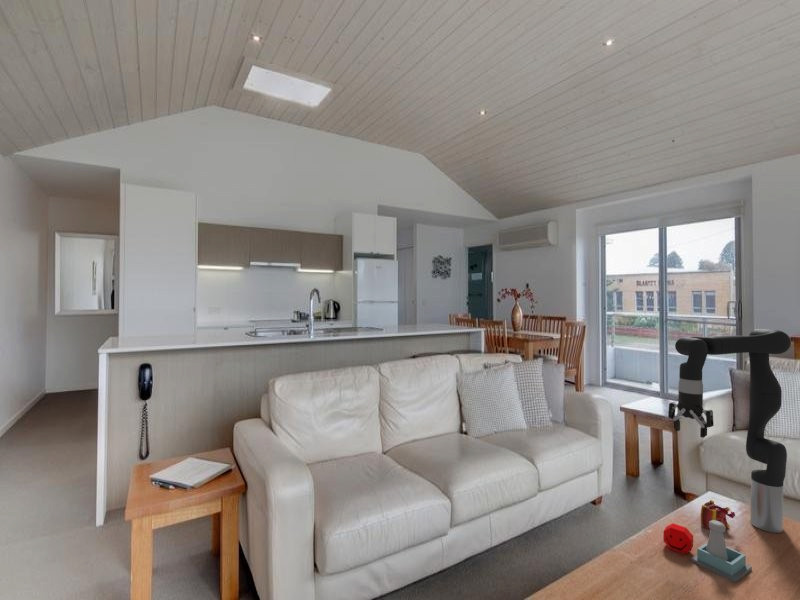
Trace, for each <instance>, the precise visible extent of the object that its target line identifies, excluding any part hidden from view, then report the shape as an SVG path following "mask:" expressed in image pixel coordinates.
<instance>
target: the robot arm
mask: <svg viewBox="0 0 800 600" xmlns="http://www.w3.org/2000/svg"><path fill="white" fill-rule="evenodd" d="M791 344H792V342H791V338H790V336H789V335H788V334H787V333H786V332H784V331H782V330H777V329H771V328H770V329H768V328H755V329H753V330H752V331H750V333H749V335H732V334H731V335H712V336H683V337H681V338H678V339H677V340H676V342H675V344H674V347H675V348H674V349H675V351H676V352H677V353H678V354H680V355H681V356H687V357H688V358H687V360H686V361H685V362H682V363H680V365H679V378H678V379H679V380H678V387H677V389H678V394H677V395H678V396H677V397H678V399H677V400H678V403H676V402H673V401H672V402H669V403H668V413H667V417H668V419H672V420H673V429H674V430H675V431H676V432H680V431H681V420H680V419H682V418H690V419H691V420H695V421H696V422H697V423H698V425H699V426H700V428H699V429H700V433H699V434H700V435H699V436H700V438H702V439H703V438H706V437H707V436H708V428H711V427H714V411H713V410H712V409H709V410H708V409H704V408H703V405H704V404H703V403H704V400H703V399H704V384H703V367H704V365H705V363H706V361H707V357H708V356H709V355H710V356H716V355H717V356H718V355H731V354H732V355H733V354H743V353H745V354H746V353H748V357H749V359H748V360H749V376H750V377H749V381H750V382H749V416H748V417H749V418H748V426H747V433H746V443H745V451H746V454H747V457H749V458H750V459H751V460H753V461H756V462H759V463H762V464H765V465H766V468H765V469H759V468H758V469H753V470H752V471H751V472H750V473H751V476H750V517H749V518H750V520H749V521H750V523H751V525H752V526H754V527H756V528H757V529H760V530H762V531H765V532H768V533H769V532H770V533H773V534H776V533H777V534H778V533H779V534H780V533H782V532H783V526H784V521H783V520H784V481H785V478H786V472H787V471H786V469H787V459H788V452H787V448H786V446H785V445H784V444H783V443H781V442H778V441H775V440H771V439H768V438H765V430H766V427H767V424H768V423H769V422H770V421H771V419H773V417H774V416H775V415H777V413H778V412H779V411H780V410H781V407H782V399H783V398H782V396H783V395H782V394H783V392H782V387H781V385H780V382H779V380H778V378H777V377H776V375H775V373H774V372H773V370H772V368H771V365H770V355H780V354H784V353H786V352H787V351H789V349H790V348H791V346H792V345H791ZM676 409H678V411H679V412H678V413H676ZM703 414H704V416H705V417H704V416H703Z"/></svg>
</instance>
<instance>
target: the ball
mask: <svg viewBox="0 0 800 600" xmlns="http://www.w3.org/2000/svg"><path fill="white" fill-rule="evenodd" d="M662 538H663V543H665V545H666V546H667V548H669V550H670V551H673V552H676V553H679V554H681V555H684V554H687V553H690V552H691V551H692V550H693V547H694V535H693V534H692V533H691V531H689V529H688V528H687V527H686V526H684V525H683V526H682V525H680V524H676V523H670V524H669V525H667V526H665V528H664V530H663V537H662Z"/></svg>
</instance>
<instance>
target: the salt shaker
mask: <svg viewBox="0 0 800 600" xmlns="http://www.w3.org/2000/svg"><path fill="white" fill-rule="evenodd" d="M709 528H710V529H711V530H709V535H708V538H707V539H708V540H707V542H708V543H707V542H706V543H707V547H706V551H707V552H709V553H711V554H713V555H715V556H717V557H719V558H722V559H724V560H726V561H727V560H728V556H727V551H726V547H727V546H726V541H725V535H724V533H725V532H726V527H725V525H724V524H723V523H721V522H719V521H716V520H711V521H709Z"/></svg>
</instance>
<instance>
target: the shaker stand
mask: <svg viewBox="0 0 800 600" xmlns="http://www.w3.org/2000/svg"><path fill="white" fill-rule="evenodd" d="M707 543H708V541H707V542H706V543H704V544H702V545H700V546H699V547H697V550H696V551H697V553H696V554H695V555H694V556H692V557H691V562H692V563H694V564H696V565H698V566H700V567H702V568H704V569H706V570H708V571H710V572H712V573H715V574H716V575H718V576H720V577H722V578H724V579H727V580H728V581H730V582H732V583H737V582H738V581H739V580H740V579H742V578H743V577H745V576H746V575H747V574H748V573H750V572H751V571H752V568H753V566H751V565H748V564H747V562H746V560H747V556H746V554H744V553H742V552H739V551H737V550H735V549H733V548H731V547H728V546H726V551H727V556H728V560H727V561H726V560H724V559H722V558H719V557H717V556H715V555H713V554H711V553H709V552H707V551H706V547H707Z"/></svg>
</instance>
